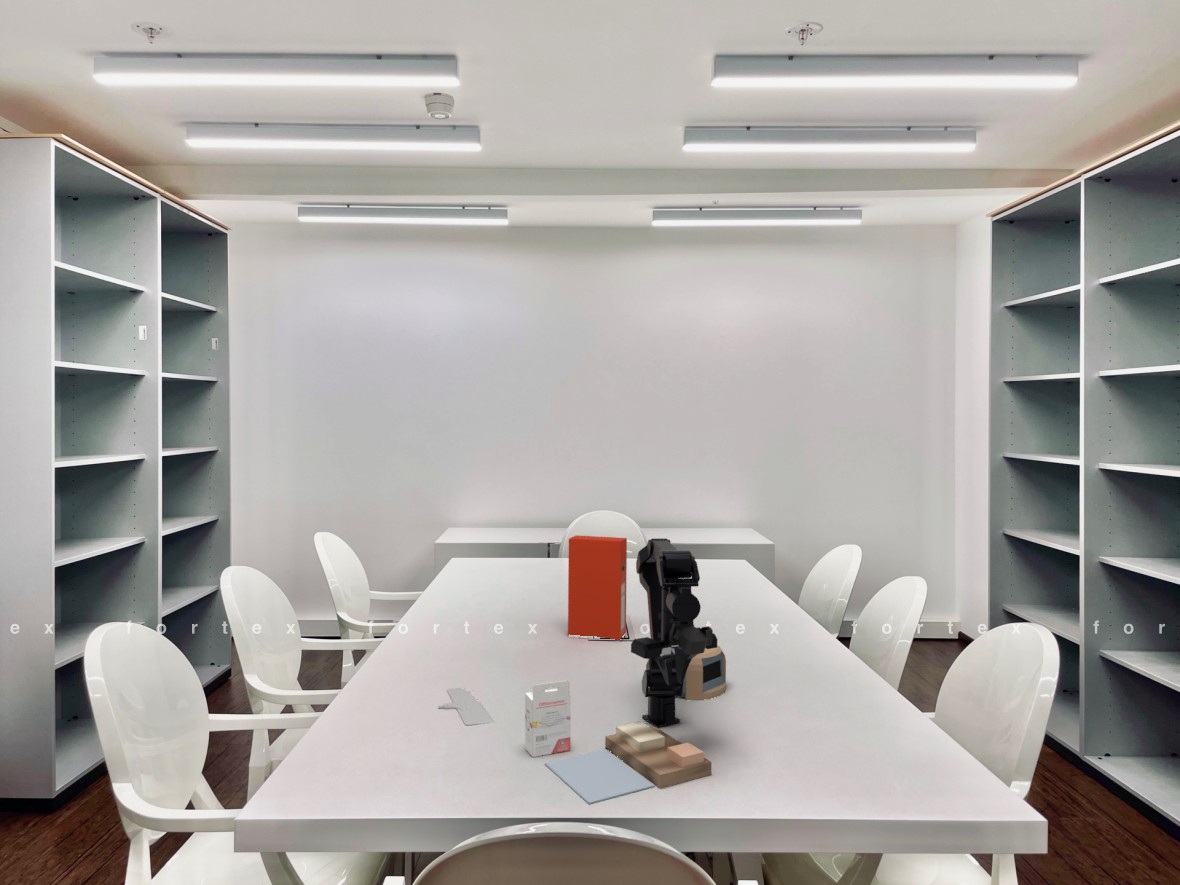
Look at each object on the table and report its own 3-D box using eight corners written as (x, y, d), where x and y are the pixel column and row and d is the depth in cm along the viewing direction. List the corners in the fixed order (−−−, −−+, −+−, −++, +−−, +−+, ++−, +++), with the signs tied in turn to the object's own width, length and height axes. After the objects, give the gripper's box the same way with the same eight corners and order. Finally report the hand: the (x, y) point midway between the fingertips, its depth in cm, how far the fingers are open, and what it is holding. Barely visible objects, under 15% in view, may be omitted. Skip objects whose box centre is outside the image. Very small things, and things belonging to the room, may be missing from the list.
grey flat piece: (430, 692, 188) (430, 688, 188) (520, 685, 197) (520, 680, 197) (447, 729, 165) (447, 724, 165) (548, 719, 173) (549, 714, 173)
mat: (544, 764, 147) (544, 762, 147) (605, 750, 154) (605, 749, 154) (589, 804, 132) (589, 802, 132) (654, 786, 139) (654, 785, 139)
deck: (605, 748, 155) (605, 736, 155) (653, 737, 161) (653, 725, 161) (659, 788, 138) (660, 775, 138) (711, 774, 144) (711, 761, 144)
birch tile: (616, 736, 155) (616, 726, 155) (640, 730, 158) (640, 721, 158) (639, 752, 148) (639, 742, 148) (664, 746, 151) (664, 736, 151)
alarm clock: (697, 706, 180) (697, 656, 180) (633, 687, 194) (633, 640, 194) (739, 687, 194) (739, 641, 194) (676, 670, 208) (677, 627, 208)
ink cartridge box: (562, 742, 158) (562, 673, 158) (570, 751, 154) (571, 680, 154) (523, 748, 155) (524, 678, 155) (531, 758, 150) (532, 685, 150)
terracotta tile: (667, 757, 145) (667, 747, 145) (687, 752, 148) (688, 742, 148) (682, 767, 141) (682, 757, 141) (703, 762, 144) (703, 752, 143)
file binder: (619, 642, 234) (620, 541, 234) (567, 637, 240) (568, 538, 239) (625, 636, 242) (627, 537, 242) (575, 631, 247) (576, 535, 247)
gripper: (660, 624, 145) (659, 703, 145) (734, 613, 154) (733, 688, 155) (629, 611, 155) (629, 686, 155) (701, 602, 164) (700, 673, 164)
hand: (674, 684), depth 157 cm, fingers open, 3 cm apart
